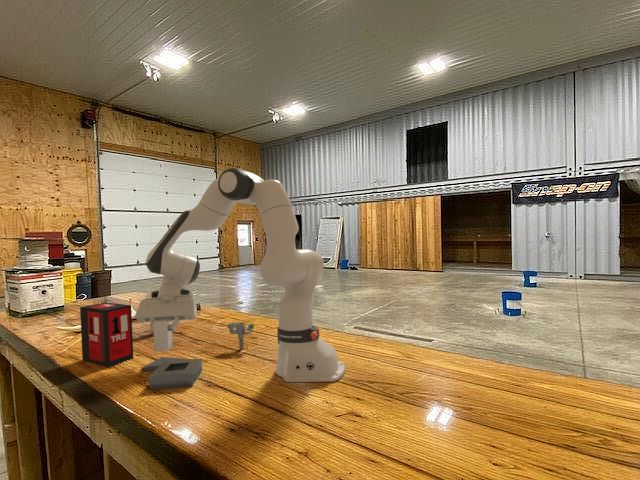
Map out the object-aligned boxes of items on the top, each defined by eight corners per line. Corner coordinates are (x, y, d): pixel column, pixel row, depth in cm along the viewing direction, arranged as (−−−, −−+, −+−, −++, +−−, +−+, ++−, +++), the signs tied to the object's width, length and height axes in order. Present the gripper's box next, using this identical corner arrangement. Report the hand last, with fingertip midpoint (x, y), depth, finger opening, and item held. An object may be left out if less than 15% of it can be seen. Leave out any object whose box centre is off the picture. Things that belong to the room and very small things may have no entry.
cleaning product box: (133, 358, 124) (131, 305, 124) (108, 367, 117) (106, 310, 116) (107, 352, 132) (104, 302, 132) (82, 360, 124) (80, 307, 124)
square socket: (202, 370, 111) (201, 358, 111) (192, 386, 99) (191, 373, 99) (164, 373, 110) (163, 361, 110) (150, 389, 98) (149, 376, 98)
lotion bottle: (166, 331, 159) (164, 289, 159) (159, 335, 154) (158, 292, 153) (155, 332, 160) (153, 290, 159) (148, 335, 154) (146, 292, 154)
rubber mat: (186, 361, 120) (186, 358, 120) (167, 372, 110) (167, 369, 110) (162, 359, 122) (162, 357, 122) (141, 370, 113) (141, 367, 113)
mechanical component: (252, 350, 129) (251, 324, 128) (227, 349, 131) (226, 324, 131) (255, 348, 132) (254, 322, 131) (231, 347, 134) (230, 322, 133)
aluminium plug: (172, 345, 119) (171, 317, 119) (168, 350, 114) (167, 321, 114) (159, 346, 118) (158, 318, 118) (154, 351, 114) (153, 321, 114)
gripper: (138, 293, 122) (127, 327, 112) (196, 290, 124) (190, 324, 114) (144, 303, 126) (133, 337, 117) (200, 300, 128) (194, 333, 119)
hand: (162, 330), depth 116 cm, fingers closed on aluminium plug, 4 cm apart
